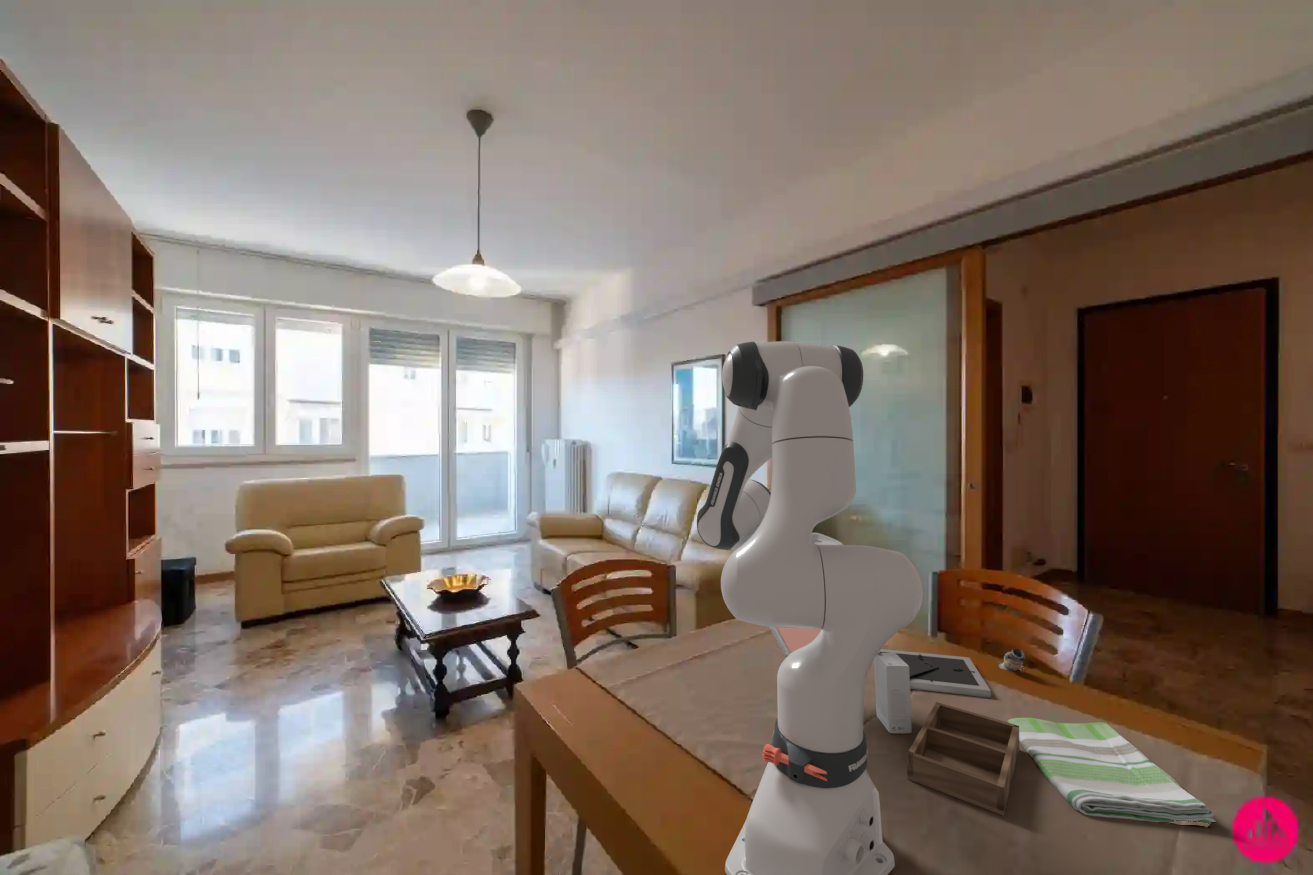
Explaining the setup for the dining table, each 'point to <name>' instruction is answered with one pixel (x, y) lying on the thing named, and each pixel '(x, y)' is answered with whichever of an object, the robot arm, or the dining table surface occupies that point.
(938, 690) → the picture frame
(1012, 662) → the vase
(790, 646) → the notebook
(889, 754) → the dining table surface
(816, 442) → the robot arm
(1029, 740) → the dish towel
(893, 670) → the skincare box
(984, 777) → the walnut slot rack
